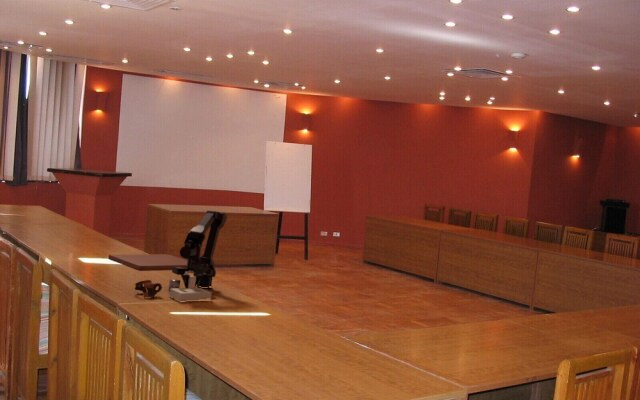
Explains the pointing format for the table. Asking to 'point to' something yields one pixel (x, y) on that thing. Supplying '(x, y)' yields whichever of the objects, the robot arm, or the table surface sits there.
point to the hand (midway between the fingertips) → (190, 288)
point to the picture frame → (149, 261)
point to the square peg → (191, 282)
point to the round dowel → (174, 284)
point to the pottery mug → (148, 288)
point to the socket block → (189, 294)
